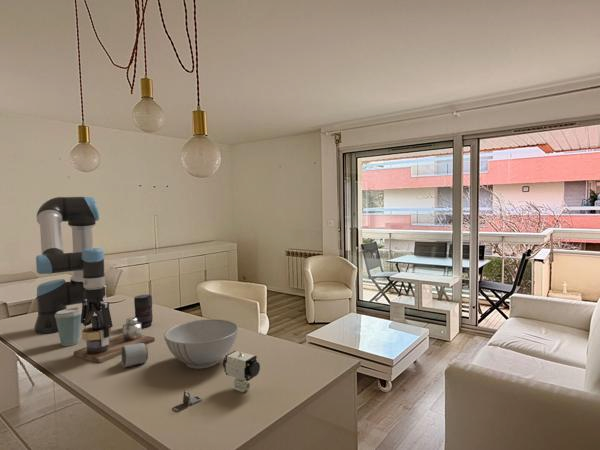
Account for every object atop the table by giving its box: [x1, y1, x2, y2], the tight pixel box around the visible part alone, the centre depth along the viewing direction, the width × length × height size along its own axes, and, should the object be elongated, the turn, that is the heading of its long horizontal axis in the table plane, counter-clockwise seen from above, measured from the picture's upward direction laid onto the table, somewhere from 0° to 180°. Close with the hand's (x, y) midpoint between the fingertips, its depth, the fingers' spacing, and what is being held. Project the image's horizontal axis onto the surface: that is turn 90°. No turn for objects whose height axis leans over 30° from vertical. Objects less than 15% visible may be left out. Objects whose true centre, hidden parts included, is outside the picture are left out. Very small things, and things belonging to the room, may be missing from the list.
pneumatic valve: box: [222, 350, 261, 393], centre depth 116 cm, size 6×12×12 cm, turn 58°
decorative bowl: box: [163, 318, 239, 370], centre depth 138 cm, size 27×27×12 cm
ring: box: [81, 325, 112, 341], centre depth 146 cm, size 9×9×4 cm
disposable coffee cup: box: [55, 306, 82, 347], centre depth 160 cm, size 11×11×15 cm
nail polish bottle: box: [85, 314, 108, 355], centre depth 146 cm, size 7×7×14 cm
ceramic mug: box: [120, 343, 149, 368], centre depth 139 cm, size 11×8×8 cm
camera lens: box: [133, 294, 154, 329], centre depth 181 cm, size 8×8×15 cm
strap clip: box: [171, 390, 203, 413], centre depth 108 cm, size 8×3×4 cm, turn 137°
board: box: [73, 333, 156, 364], centre depth 154 cm, size 17×25×2 cm
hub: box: [122, 316, 143, 341], centre depth 161 cm, size 7×7×8 cm
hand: (97, 343), depth 147 cm, fingers closed on ring, 9 cm apart
